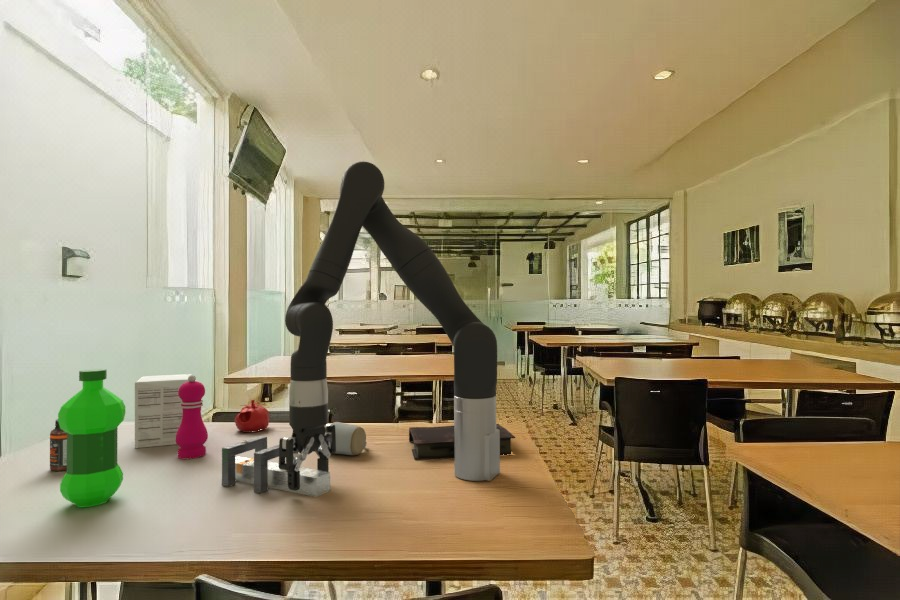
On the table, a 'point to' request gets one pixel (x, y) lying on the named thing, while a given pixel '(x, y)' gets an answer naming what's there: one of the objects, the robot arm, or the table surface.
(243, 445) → the collar
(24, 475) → the table surface
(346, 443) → the ceramic mug
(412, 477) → the table surface
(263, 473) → the collar
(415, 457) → the diary
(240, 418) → the pomegranate
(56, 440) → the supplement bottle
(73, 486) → the plastic bottle
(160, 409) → the supplement box
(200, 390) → the pepper mill
